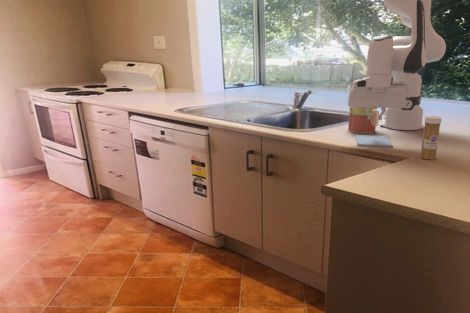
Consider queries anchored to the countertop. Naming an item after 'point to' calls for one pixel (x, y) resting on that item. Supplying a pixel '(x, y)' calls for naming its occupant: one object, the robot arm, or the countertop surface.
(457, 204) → the countertop surface
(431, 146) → the sprinkles bottle
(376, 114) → the tile
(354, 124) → the canned food
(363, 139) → the mat
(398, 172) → the countertop surface
